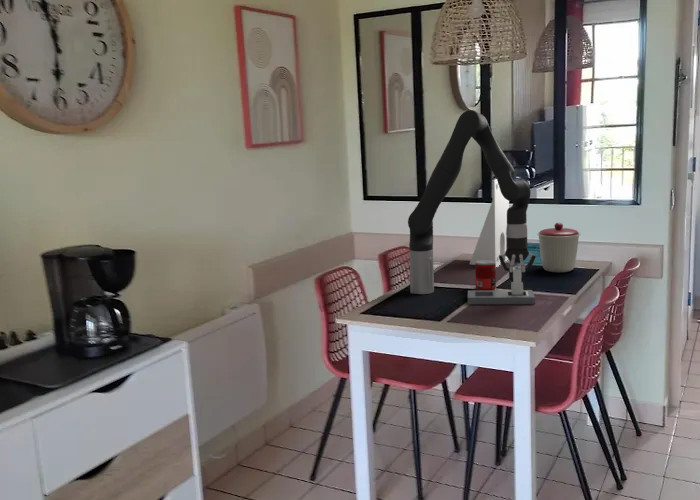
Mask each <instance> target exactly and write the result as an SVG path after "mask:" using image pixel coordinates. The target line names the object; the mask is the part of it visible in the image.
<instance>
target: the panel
mask: <svg viewBox="0 0 700 500" xmlns="http://www.w3.org/2000/svg"><path fill="white" fill-rule="evenodd" d="M533 291H534V290H532V289H523V295H512V292H511V289H509V290H508V289H507V290H505V289H500V290H499V289H496V290H495V289H494V290H478V289H476V290H475V289H473V290H467V305H535V304H536V296H535V293H534V292H533Z"/></svg>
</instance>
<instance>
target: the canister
mask: <svg viewBox="0 0 700 500" xmlns="http://www.w3.org/2000/svg"><path fill="white" fill-rule="evenodd" d="M536 234H537V237H538V243H539V250H540V251H539V252H540V258H541V260H540V261H541V264H542V268H543V269H544V270H545V271H547V272H551V273H568V272H571V271H573V270H574V268H575V266H576V260H577V254H578V248H579V247H578V245H579V236H581V232H579V231H578V230H577V229H573V228H567V227H564V225H563V223H562V222H556V223H555V224H554V226H553V228H552V227H551V228H545V229H541V230H540V231H539V232H537V233H536Z"/></svg>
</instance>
